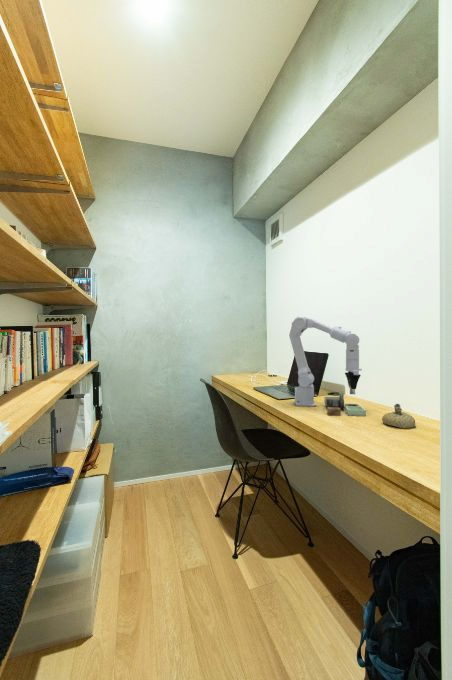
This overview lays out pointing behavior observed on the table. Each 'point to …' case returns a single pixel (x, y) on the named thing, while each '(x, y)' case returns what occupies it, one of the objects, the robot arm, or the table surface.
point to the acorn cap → (399, 418)
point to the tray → (355, 411)
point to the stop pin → (352, 391)
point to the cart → (335, 401)
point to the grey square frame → (351, 405)
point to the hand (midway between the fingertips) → (352, 388)
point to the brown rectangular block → (333, 411)
